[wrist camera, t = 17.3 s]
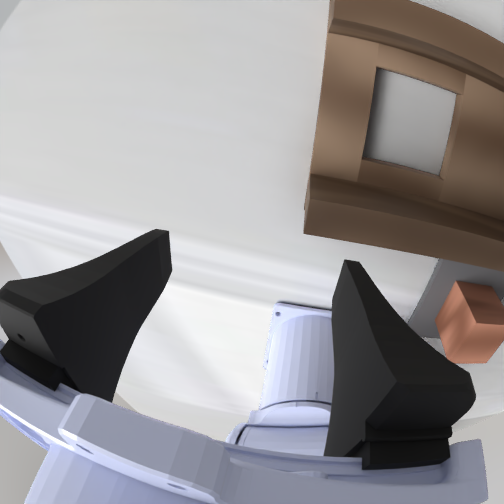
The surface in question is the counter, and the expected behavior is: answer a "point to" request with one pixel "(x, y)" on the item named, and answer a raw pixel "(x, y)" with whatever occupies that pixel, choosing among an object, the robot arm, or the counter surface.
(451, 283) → the mat
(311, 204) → the brown tray
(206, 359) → the counter surface
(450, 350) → the block
